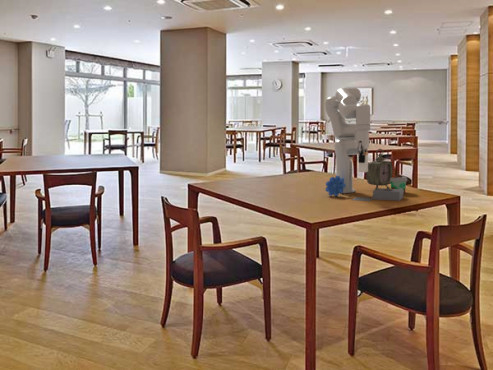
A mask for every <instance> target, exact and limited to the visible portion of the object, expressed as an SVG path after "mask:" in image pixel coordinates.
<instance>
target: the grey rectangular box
mask: <svg viewBox="0 0 493 370" xmlns="http://www.w3.org/2000/svg"><path fill="white" fill-rule="evenodd" d="M372 198H373V199H372V200H379V201H398V202H399V201H401V200H402V199H404V194H403V189H391V188H390V189H387V188H381V187H380V188H379V187H378V188H377V189H375V188H374V189H373V190H372Z"/></svg>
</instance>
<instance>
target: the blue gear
mask: <svg viewBox="0 0 493 370" xmlns="http://www.w3.org/2000/svg"><path fill="white" fill-rule="evenodd" d="M343 182H344V178H340V177H339V176H331V177H330V178H329V180H327V181H326V182H325V186H326V187H325V191H326V193H327V194H328V195H329V196H331V197H332V196H334V197H337V196H339V194H343V193H342V192H343V188H345V186H346V184H345V183H343Z"/></svg>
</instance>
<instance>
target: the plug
mask: <svg viewBox="0 0 493 370" xmlns="http://www.w3.org/2000/svg"><path fill="white" fill-rule="evenodd" d="M364 155H365V163H359V152H358V154H357V157H358V173H367V172H368V163H369V151H367V152H364Z"/></svg>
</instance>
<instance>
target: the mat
mask: <svg viewBox="0 0 493 370" xmlns="http://www.w3.org/2000/svg"><path fill="white" fill-rule="evenodd" d="M372 200H374V199H373V197H365V196H356V197H354V198H352V199H351V201H360V202H361V201H363V202H371V201H372Z"/></svg>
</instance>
